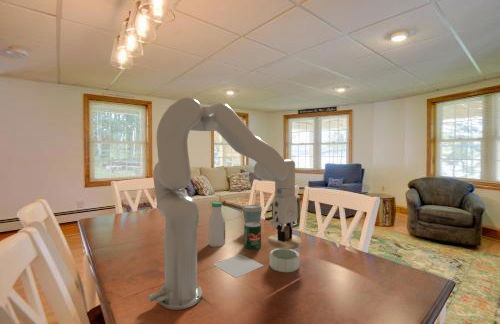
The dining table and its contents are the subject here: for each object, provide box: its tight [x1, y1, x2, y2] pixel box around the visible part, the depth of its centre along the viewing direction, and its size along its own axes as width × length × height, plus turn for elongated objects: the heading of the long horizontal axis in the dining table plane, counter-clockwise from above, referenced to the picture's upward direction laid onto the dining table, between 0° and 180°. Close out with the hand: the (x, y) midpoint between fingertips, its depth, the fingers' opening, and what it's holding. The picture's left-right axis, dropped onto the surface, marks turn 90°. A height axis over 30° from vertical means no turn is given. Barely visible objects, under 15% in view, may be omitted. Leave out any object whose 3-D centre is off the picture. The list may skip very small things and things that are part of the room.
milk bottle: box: [208, 201, 226, 248], centre depth 119 cm, size 8×8×20 cm
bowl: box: [269, 248, 300, 273], centre depth 97 cm, size 11×11×5 cm
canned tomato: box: [243, 222, 262, 251], centre depth 116 cm, size 8×8×11 cm
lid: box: [267, 225, 303, 250], centre depth 97 cm, size 13×13×6 cm
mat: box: [212, 253, 265, 279], centre depth 98 cm, size 14×14×1 cm
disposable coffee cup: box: [242, 204, 263, 224], centre depth 137 cm, size 11×11×15 cm
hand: (284, 238), depth 97 cm, fingers closed on lid, 3 cm apart
